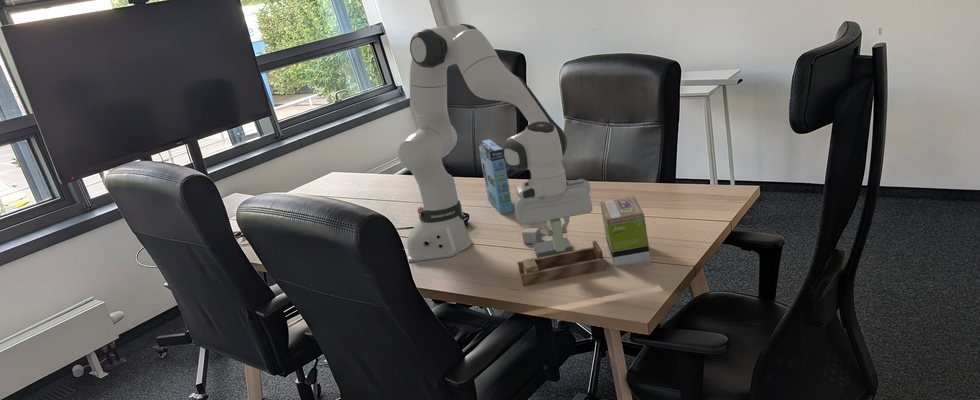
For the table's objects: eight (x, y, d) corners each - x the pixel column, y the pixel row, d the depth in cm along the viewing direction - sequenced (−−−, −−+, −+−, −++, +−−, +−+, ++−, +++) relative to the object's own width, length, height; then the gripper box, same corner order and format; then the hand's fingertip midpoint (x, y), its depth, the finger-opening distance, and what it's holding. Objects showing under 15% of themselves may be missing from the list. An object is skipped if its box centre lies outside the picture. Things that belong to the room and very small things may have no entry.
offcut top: (527, 275, 197) (526, 268, 196) (523, 267, 202) (522, 260, 202) (538, 272, 197) (537, 265, 196) (534, 264, 203) (533, 258, 202)
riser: (538, 263, 211) (536, 253, 210) (535, 253, 219) (533, 243, 218) (573, 256, 211) (571, 246, 210) (568, 246, 219) (566, 237, 218)
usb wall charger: (529, 239, 231) (526, 227, 230) (549, 239, 228) (547, 227, 226) (524, 244, 227) (521, 232, 226) (545, 244, 224) (542, 232, 223)
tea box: (606, 250, 211) (599, 200, 207) (642, 244, 210) (635, 194, 206) (614, 270, 197) (606, 218, 193) (652, 264, 196) (645, 211, 192)
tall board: (556, 251, 195) (552, 223, 193) (552, 243, 202) (548, 215, 199) (565, 250, 195) (561, 221, 193) (561, 241, 202) (557, 213, 199)
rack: (523, 289, 196) (520, 268, 194) (520, 275, 205) (516, 255, 204) (606, 273, 196) (602, 252, 194) (598, 259, 205) (595, 239, 204)
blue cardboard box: (488, 201, 277) (476, 141, 271) (501, 197, 278) (490, 138, 271) (500, 215, 259) (488, 151, 252) (514, 211, 260) (503, 148, 253)
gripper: (586, 174, 196) (593, 223, 200) (510, 188, 196) (518, 236, 200) (591, 180, 190) (598, 231, 194) (512, 194, 190) (520, 244, 194)
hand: (557, 234), depth 197 cm, fingers closed on tall board, 2 cm apart
